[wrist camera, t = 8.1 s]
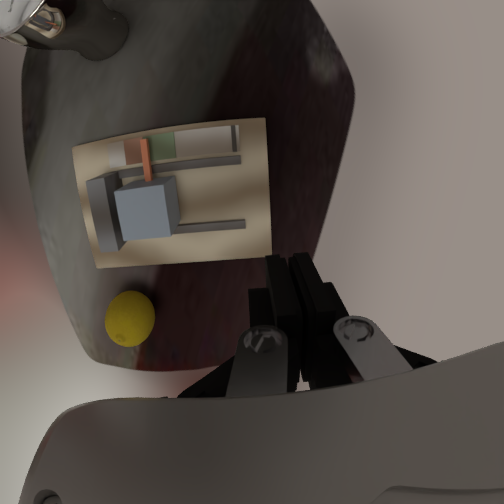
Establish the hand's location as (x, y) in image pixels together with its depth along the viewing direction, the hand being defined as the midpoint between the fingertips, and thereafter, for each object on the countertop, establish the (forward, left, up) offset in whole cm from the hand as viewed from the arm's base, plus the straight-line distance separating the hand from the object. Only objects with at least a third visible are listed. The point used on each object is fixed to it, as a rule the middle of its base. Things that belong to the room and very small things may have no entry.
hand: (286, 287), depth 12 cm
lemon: (+12, -15, -19) cm, 27 cm away
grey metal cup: (-19, -15, -19) cm, 31 cm away
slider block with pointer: (-2, -10, -18) cm, 20 cm away
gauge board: (0, -9, -19) cm, 21 cm away
